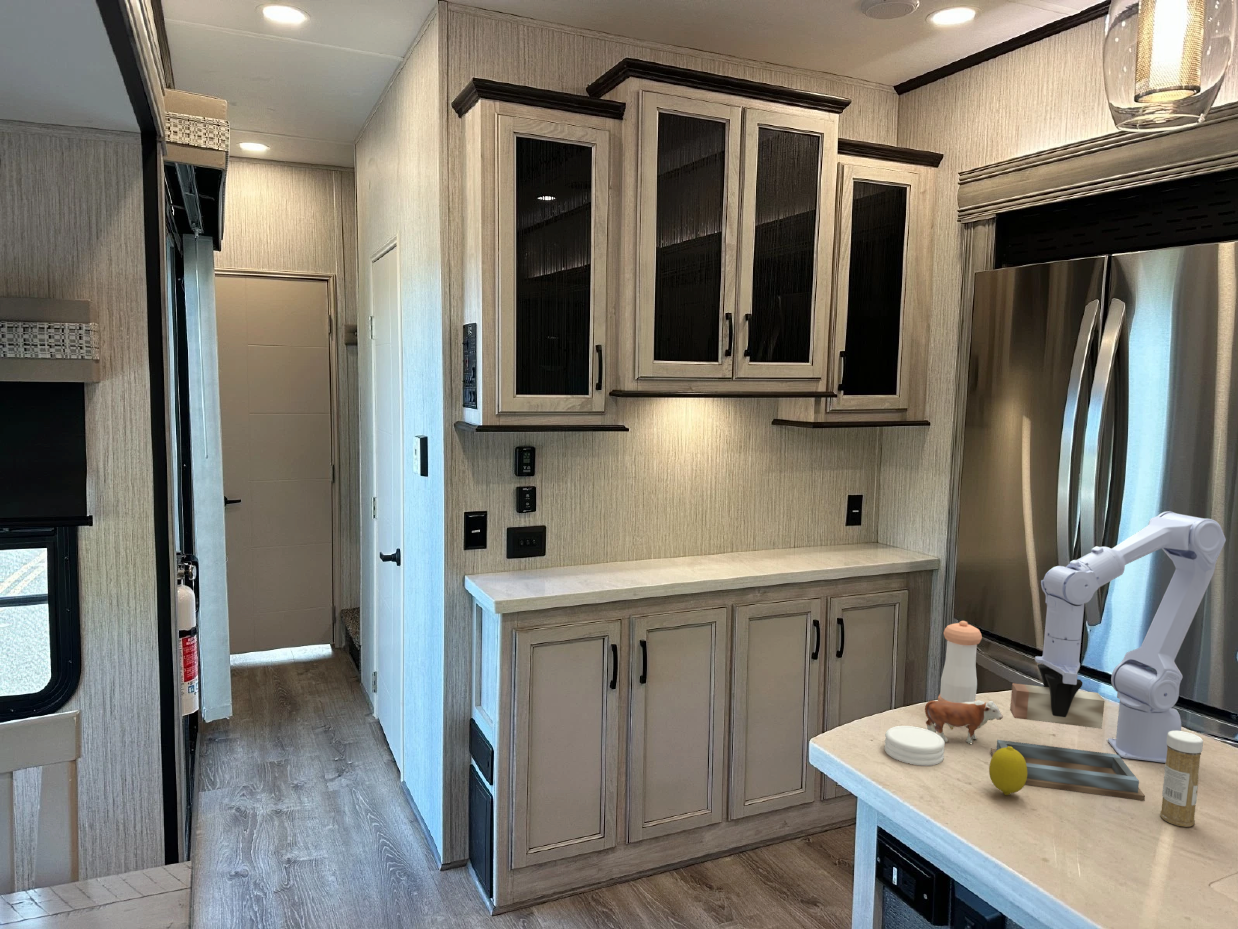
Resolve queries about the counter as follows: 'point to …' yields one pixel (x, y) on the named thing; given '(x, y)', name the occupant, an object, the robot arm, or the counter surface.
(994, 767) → the lemon
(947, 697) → the pepper shaker
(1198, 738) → the spice jar
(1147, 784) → the counter surface
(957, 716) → the bull figurine
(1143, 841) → the counter surface
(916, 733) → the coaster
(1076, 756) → the tray
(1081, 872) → the counter surface
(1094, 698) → the two-tone wooden block
